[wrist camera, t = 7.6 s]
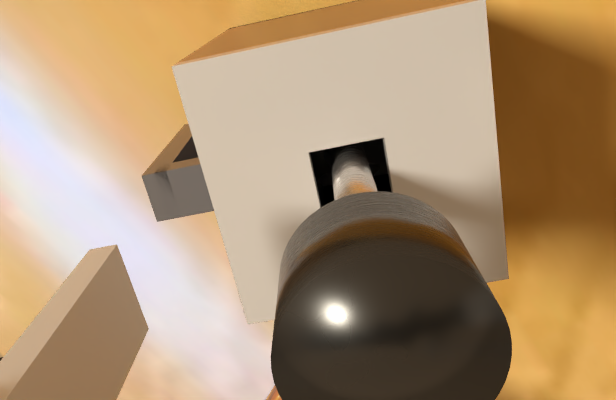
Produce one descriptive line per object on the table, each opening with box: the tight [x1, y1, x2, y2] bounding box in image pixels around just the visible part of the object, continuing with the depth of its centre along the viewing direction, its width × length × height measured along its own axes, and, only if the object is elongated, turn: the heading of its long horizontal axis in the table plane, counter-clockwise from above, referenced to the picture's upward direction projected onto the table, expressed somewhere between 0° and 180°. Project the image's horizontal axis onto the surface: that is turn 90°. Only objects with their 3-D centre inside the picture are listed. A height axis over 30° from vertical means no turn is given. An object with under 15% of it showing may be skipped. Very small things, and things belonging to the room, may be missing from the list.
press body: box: [142, 0, 509, 324], centre depth 26 cm, size 10×13×14 cm
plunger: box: [271, 138, 512, 400], centre depth 20 cm, size 7×7×20 cm
